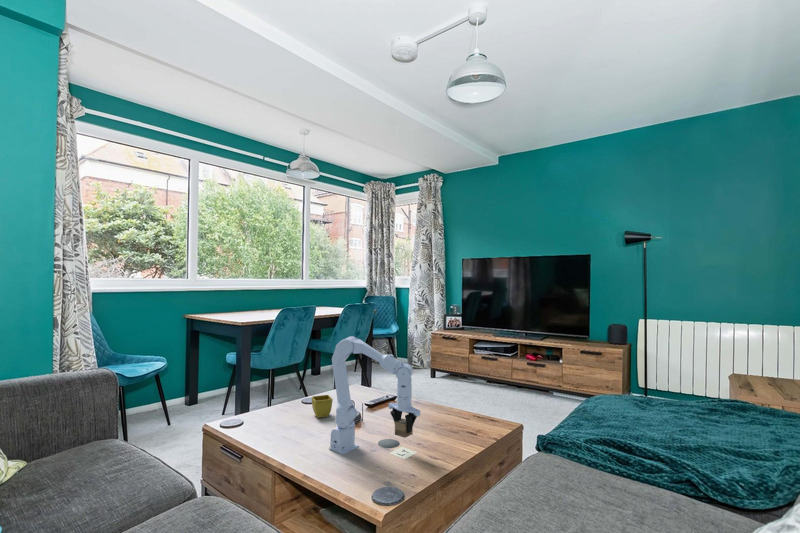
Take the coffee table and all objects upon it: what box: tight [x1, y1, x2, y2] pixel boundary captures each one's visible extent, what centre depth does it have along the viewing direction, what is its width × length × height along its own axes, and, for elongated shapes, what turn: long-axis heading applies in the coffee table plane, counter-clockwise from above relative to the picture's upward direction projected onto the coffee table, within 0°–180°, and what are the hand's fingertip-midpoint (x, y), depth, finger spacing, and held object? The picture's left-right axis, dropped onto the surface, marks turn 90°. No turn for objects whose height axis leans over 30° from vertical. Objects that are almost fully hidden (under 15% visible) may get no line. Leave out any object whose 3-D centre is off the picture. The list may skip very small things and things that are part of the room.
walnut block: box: [394, 418, 414, 439], centre depth 157 cm, size 5×5×5 cm
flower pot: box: [311, 394, 333, 419], centre depth 197 cm, size 9×9×9 cm
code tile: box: [388, 446, 418, 460], centre depth 156 cm, size 8×8×1 cm
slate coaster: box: [377, 438, 401, 449], centre depth 165 cm, size 9×9×1 cm
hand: (403, 430), depth 156 cm, fingers closed on walnut block, 5 cm apart
